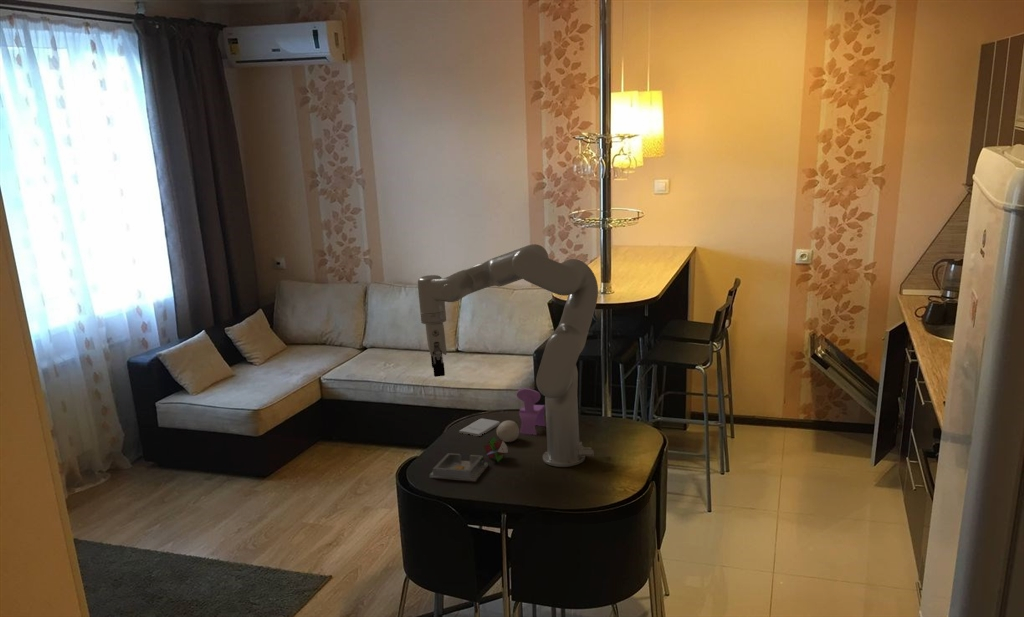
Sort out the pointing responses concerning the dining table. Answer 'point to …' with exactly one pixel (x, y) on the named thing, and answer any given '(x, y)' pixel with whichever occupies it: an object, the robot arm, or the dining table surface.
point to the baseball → (508, 431)
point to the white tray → (459, 468)
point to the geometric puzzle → (496, 449)
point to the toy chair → (530, 411)
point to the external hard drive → (480, 427)
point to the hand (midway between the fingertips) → (438, 371)
